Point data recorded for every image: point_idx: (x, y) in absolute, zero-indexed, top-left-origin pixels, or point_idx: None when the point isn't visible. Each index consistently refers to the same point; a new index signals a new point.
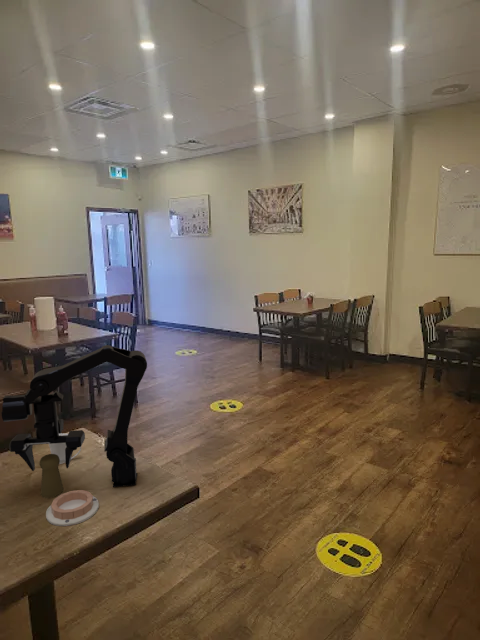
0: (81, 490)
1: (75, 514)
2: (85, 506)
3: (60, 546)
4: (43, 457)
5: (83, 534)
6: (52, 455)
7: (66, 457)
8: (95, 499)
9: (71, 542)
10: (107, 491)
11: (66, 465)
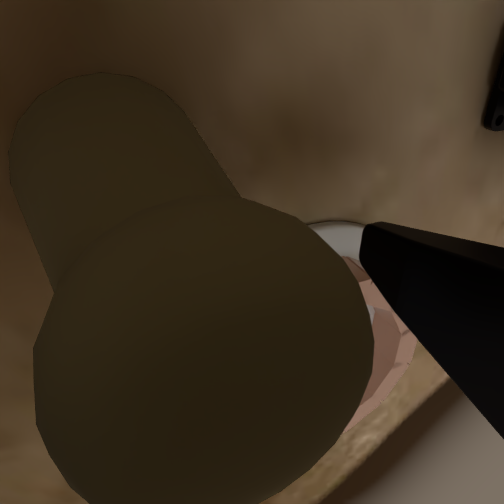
0: (372, 284)
1: None
2: (389, 392)
3: (292, 490)
4: (148, 495)
5: (352, 433)
6: (315, 413)
7: (501, 420)
8: None
9: (321, 468)
10: (449, 166)
11: (392, 301)
